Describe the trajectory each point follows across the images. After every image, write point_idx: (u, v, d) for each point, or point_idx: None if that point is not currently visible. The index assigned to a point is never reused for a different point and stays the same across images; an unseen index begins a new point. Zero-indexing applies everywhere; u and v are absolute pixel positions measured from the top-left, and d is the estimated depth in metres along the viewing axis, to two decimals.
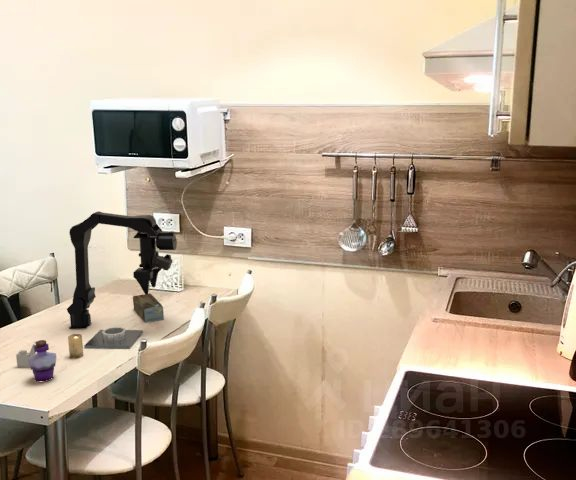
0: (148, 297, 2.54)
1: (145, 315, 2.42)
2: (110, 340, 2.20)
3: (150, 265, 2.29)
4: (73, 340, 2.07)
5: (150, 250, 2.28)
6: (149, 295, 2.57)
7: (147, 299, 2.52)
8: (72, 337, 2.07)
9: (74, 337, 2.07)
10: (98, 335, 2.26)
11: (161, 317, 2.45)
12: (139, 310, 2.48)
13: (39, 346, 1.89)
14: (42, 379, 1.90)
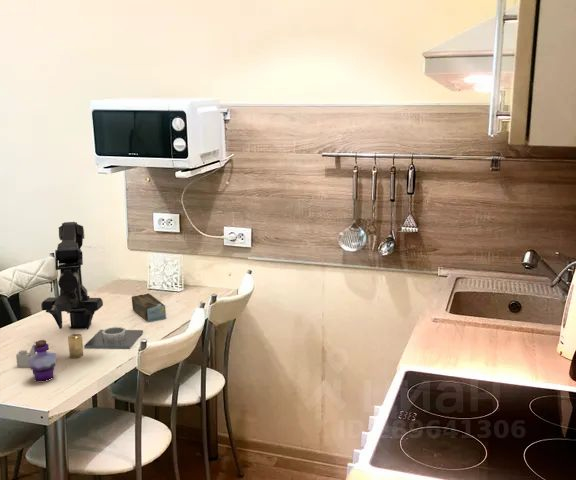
0: (148, 297, 2.54)
1: (148, 315, 2.42)
2: (110, 340, 2.20)
3: None
4: (73, 340, 2.07)
5: None
6: (148, 295, 2.57)
7: (147, 299, 2.52)
8: (72, 337, 2.07)
9: (74, 337, 2.07)
10: (98, 335, 2.26)
11: (163, 316, 2.46)
12: (140, 310, 2.48)
13: (39, 346, 1.89)
14: (42, 379, 1.90)
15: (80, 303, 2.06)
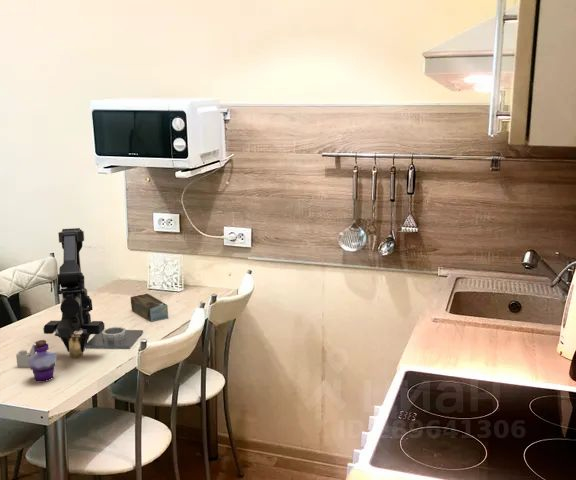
0: (147, 297, 2.54)
1: (151, 314, 2.43)
2: (110, 340, 2.20)
3: None
4: (73, 340, 2.07)
5: None
6: (147, 295, 2.57)
7: (148, 299, 2.53)
8: (72, 337, 2.07)
9: (74, 337, 2.07)
10: (98, 335, 2.26)
11: (166, 316, 2.47)
12: (142, 310, 2.48)
13: (39, 346, 1.89)
14: (42, 379, 1.90)
15: (82, 326, 2.07)
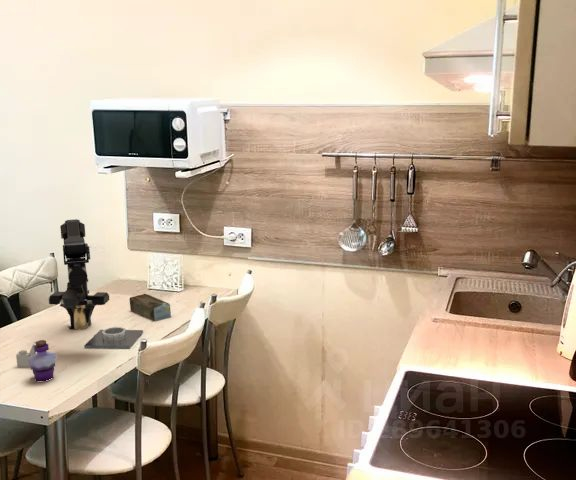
0: (147, 297, 2.54)
1: (155, 314, 2.43)
2: (110, 340, 2.20)
3: None
4: (78, 311, 2.07)
5: None
6: (146, 295, 2.57)
7: (148, 299, 2.53)
8: (77, 308, 2.08)
9: (79, 308, 2.08)
10: (98, 335, 2.26)
11: (169, 315, 2.48)
12: (143, 310, 2.48)
13: (39, 346, 1.89)
14: (42, 379, 1.90)
15: (87, 297, 2.08)
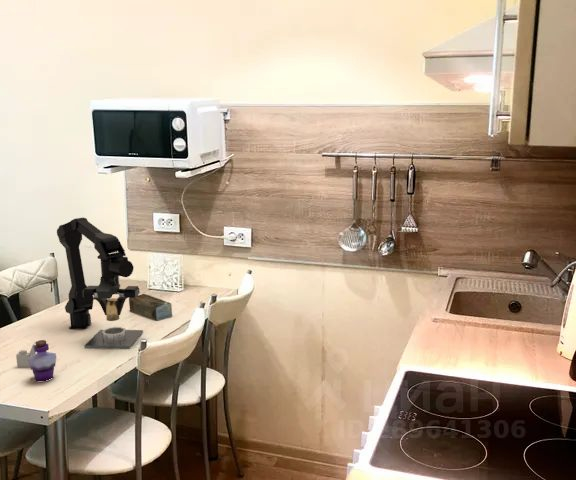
0: (147, 297, 2.54)
1: (157, 314, 2.44)
2: (110, 340, 2.20)
3: None
4: (111, 303, 2.19)
5: (106, 273, 2.16)
6: (146, 295, 2.57)
7: (148, 299, 2.53)
8: (109, 301, 2.20)
9: (111, 301, 2.20)
10: (98, 335, 2.26)
11: (170, 314, 2.48)
12: (145, 310, 2.48)
13: (39, 346, 1.89)
14: (42, 379, 1.90)
15: (119, 291, 2.20)
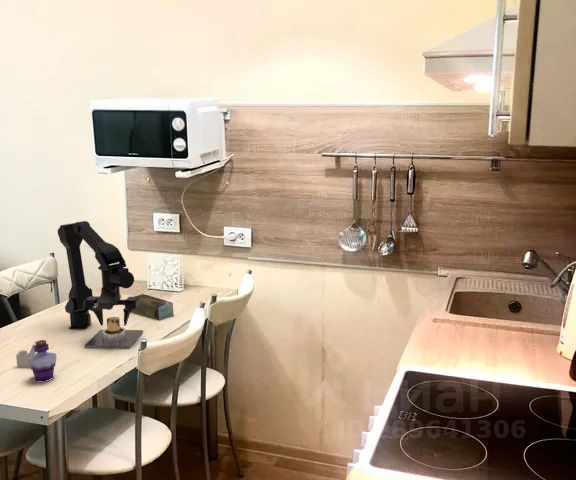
0: (147, 297, 2.54)
1: (159, 313, 2.44)
2: (110, 340, 2.20)
3: None
4: (112, 322, 2.21)
5: (107, 284, 2.17)
6: (145, 295, 2.57)
7: (148, 299, 2.53)
8: (111, 319, 2.21)
9: (112, 319, 2.21)
10: (98, 335, 2.26)
11: (171, 314, 2.49)
12: (146, 310, 2.48)
13: (39, 346, 1.89)
14: (42, 379, 1.90)
15: (119, 302, 2.21)
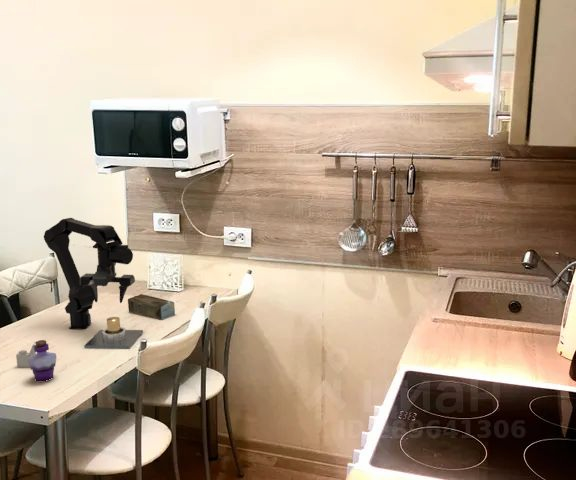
0: (147, 297, 2.55)
1: (162, 313, 2.45)
2: (110, 340, 2.20)
3: None
4: (112, 322, 2.21)
5: (105, 262, 2.23)
6: (144, 295, 2.57)
7: (149, 299, 2.53)
8: (111, 319, 2.21)
9: (112, 319, 2.21)
10: (98, 335, 2.26)
11: (173, 313, 2.50)
12: (147, 310, 2.48)
13: (39, 346, 1.89)
14: (42, 379, 1.90)
15: (114, 279, 2.27)
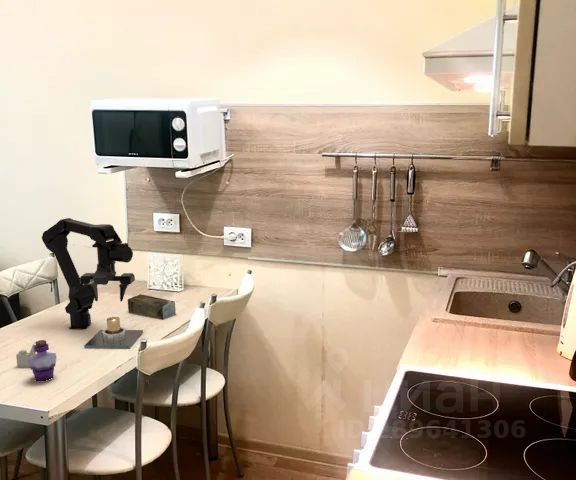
0: (147, 297, 2.55)
1: (163, 312, 2.45)
2: (110, 340, 2.20)
3: None
4: (112, 322, 2.20)
5: (105, 260, 2.24)
6: (144, 295, 2.57)
7: (149, 299, 2.53)
8: (111, 319, 2.21)
9: (112, 319, 2.21)
10: (98, 335, 2.26)
11: (174, 312, 2.51)
12: (148, 310, 2.48)
13: (39, 346, 1.89)
14: (42, 379, 1.90)
15: (114, 278, 2.27)
